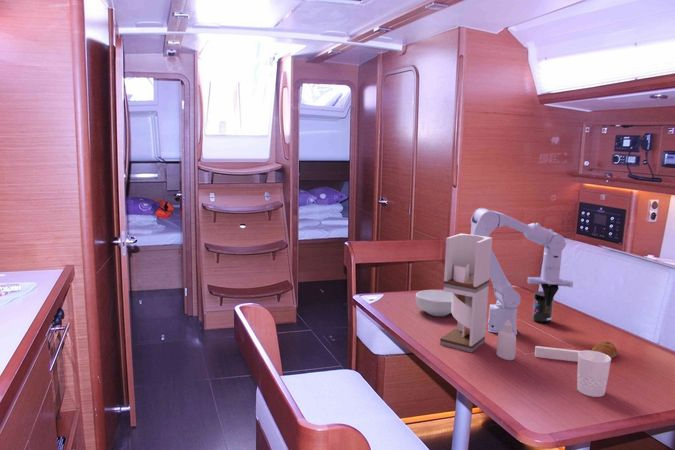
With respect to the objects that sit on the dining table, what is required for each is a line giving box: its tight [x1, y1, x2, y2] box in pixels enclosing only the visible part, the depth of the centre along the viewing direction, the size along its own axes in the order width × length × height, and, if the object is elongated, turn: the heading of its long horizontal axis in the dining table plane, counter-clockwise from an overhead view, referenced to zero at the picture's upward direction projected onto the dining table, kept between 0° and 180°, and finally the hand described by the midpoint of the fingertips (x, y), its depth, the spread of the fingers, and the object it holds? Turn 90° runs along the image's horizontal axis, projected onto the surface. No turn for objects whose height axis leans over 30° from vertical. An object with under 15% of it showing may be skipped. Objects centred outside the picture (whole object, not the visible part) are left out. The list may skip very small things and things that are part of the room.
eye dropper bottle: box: [496, 320, 517, 361], centre depth 165 cm, size 4×6×12 cm
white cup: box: [576, 349, 612, 398], centre depth 144 cm, size 8×8×10 cm
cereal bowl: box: [415, 289, 452, 317], centre depth 207 cm, size 17×17×7 cm
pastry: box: [591, 341, 619, 360], centre depth 170 cm, size 9×7×4 cm
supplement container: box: [531, 290, 555, 325], centre depth 200 cm, size 7×7×10 cm
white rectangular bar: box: [534, 345, 581, 363], centre depth 166 cm, size 14×2×3 cm, turn 76°
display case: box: [439, 233, 493, 353], centre depth 174 cm, size 11×11×35 cm
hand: (547, 305), depth 189 cm, fingers closed
